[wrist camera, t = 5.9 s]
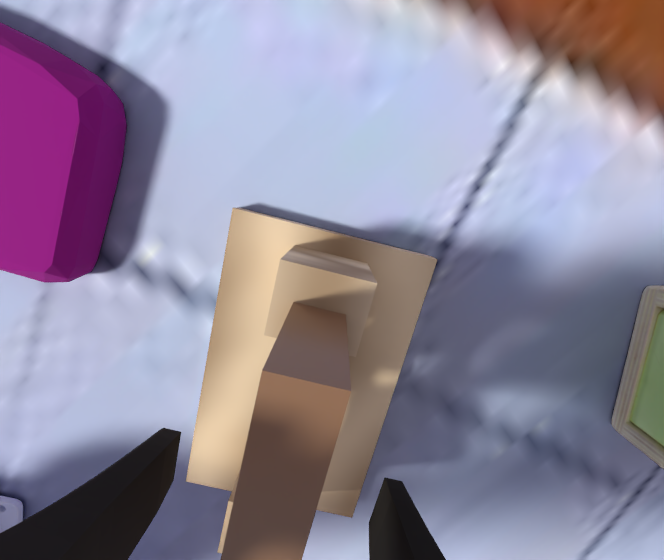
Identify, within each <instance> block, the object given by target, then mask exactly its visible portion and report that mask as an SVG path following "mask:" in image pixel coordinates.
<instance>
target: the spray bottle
mask: <svg viewBox="0 0 664 560" xmlns="http://www.w3.org/2000/svg"><path fill="white" fill-rule="evenodd" d="M126 128H127V125H126V118H125V112H124V106H123V103H122V102H121V100H120V99H119V98H118V96H117V95H116V94H115V93H114V91H113V90H112V89H111V88H110V87H109V86H108V85H107V84H106V83H105V82H104V81H103V80H102V79H101V78H100V77H99V76H97V75H96V74H94V73H92V72H91V71H89V70H87V69H86V68H84V67H82V66H81V65H79V64H78V63H76V62H74V61H73V60H71V59H69V58H68V57H66V56H64V55H63V54H61V53H59V52H58V51H56V50H54V49H53V48H51V47H49V46H48V45H46V44H44V43H42V42H40V41H38V40H36V39H34V38H32V37H30V36H28V35H25V34H23V33H21V32H19V31H17V30H15V29H13V28H11V27H9V26H7V25H5V24H3V23H1V22H0V270H3V271H7V272H10V273H14V274H17V275H21V276H24V277H28V278H31V279H35V280H38V281H42V282H70V281H72V280H74V279H76V278H78V277H81V276H83V275H85V274H87V273H89V272H92V270H93V268H94V266H95V264H96V262H97V260H98V256H99V253H100V249H101V245H102V241H103V237H104V233H105V229H106V225H107V222H108V218H109V214H110V210H111V206H112V202H113V198H114V194H115V190H116V186H117V182H118V178H119V174H120V170H121V165H122V160H123V153H124V145H125V137H126Z"/></svg>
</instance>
